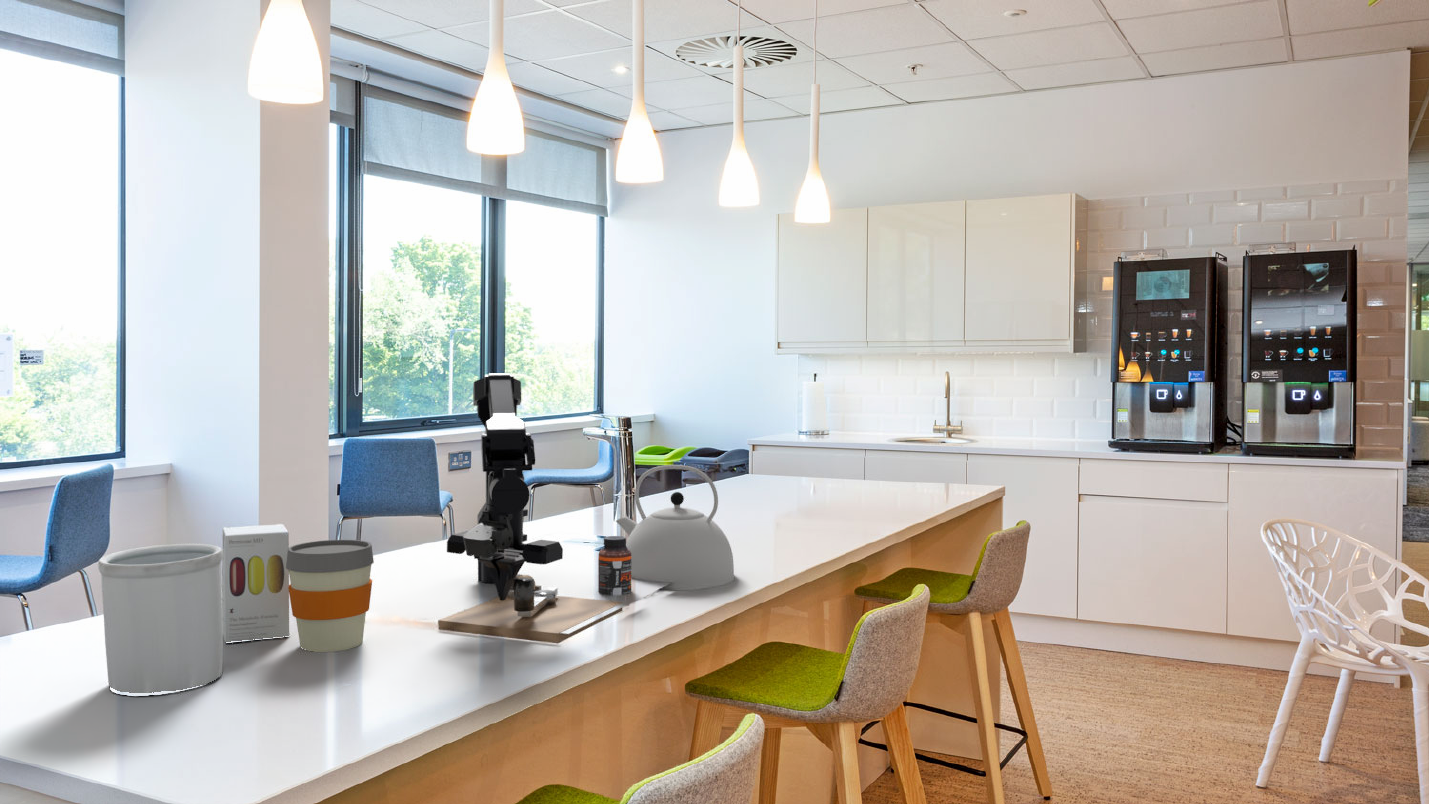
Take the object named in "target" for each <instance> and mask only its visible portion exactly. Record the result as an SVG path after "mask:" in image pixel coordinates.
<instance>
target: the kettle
mask: <svg viewBox="0 0 1429 804" xmlns="http://www.w3.org/2000/svg"><path fill="white" fill-rule="evenodd" d="M664 470H684V471H690V472H692V473H695V474H698V475H699V476H700V477H702V479H704V480H705V481H706V482H707V483H708V484H709V486H710V488H711V490H712V494H713V508H712V511H710V514H709V515H708V516H707V515H705V514H704V513H703V512H701V511H699V510H695V509H692V508H689V507H681V505H682V504H683V503H684V501H685V500H684V499H685V497H684V495H683V493H681V492H680V491H675V492H673V493H672V494H671V496H670V502H671V504H672V505H673V507H667V508H663V509H660V510H656V511H654V512H652V513H650V514H649V515H648V516H647V517H646V514H645V512H644V510H643V508H642V505H641V502H640V487H641V484H642V482H643V480H644V479H645V478H646V477H648V475H650V474H652V473H654V472H658V471H664ZM634 500H635V505H636V509H637V510H638V512H639V515H640V517H641V518H642V520H641V521H640V522H639V523H638V522H636V521H635V520H633V519H631V518H629V517H628V516H626V515H625V516H622V517H620V518H618V519H617V520H615V523H617V524H618V525H619V527H621V528H622V530H623V531H624V532H625V533H626V534H627V535H628V536H627V538H626V547H627V548H628V549H629V550H630V551H631V579H637V580H640V581H650V582H660V583H661V582H662V583H663V582H664V583H665V582H666V583H668V584H666V585H664V586H662V587H660V588H658V590H661V591H662V590H663V591H686V590H699V589H700V590H701V589H702V590H703V589H708V588H716V587H721V586H723V584H724V585H727V584H729V583H731V582H733V581H734V579H735V573H734V571H735V567H734V566H735V565H734V557H733V556H734V555H733V552H732V547H731V544H730V541H729V540H728V538H727V535H726V534H725V533H724V531H723V529H722V528H721V527H720V526H719V525H718V524H717V523H716V522H715V521H714V520H713V518H714V517H715V515H716V513H717V510H718V508H719V507H718V506H719V495H718V490H717V488H716V486H715V483H714V482H713V480H712V479H711V478H710V477H709V476H708V475H707V474H706V473H705V472H703V471H702V470H701V469H699V468H695V467H693V466H689V465H683V464H682V465H681V464H666V465H658V466H656V467H652V468H649V469H648V470H646V471H645V472H644V473H642V474H641V476H640V477H639V478H638V481H636V484H635V489H634Z"/></svg>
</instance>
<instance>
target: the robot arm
mask: <svg viewBox="0 0 1429 804" xmlns="http://www.w3.org/2000/svg"><path fill="white" fill-rule="evenodd" d="M472 389H473V390H472V399H473V400H472V402H473V405H472V406H474V407H475V406H476V413H477V417H478V418H479V420H480V421H481V423H482V425H483V427H484V428H485V430H484V431H485V432H484V433H480V435H481V437H480V438H481V439H480V440H481V443H480V444H481V445H480V447H481V448H480V449H481V451H480V452H481V465H482V466H481V467H482V472H483V473H485V503H484V504H483V505H482V507H481V509H480V510H479V512H478V514H477V519H476V520H477V522H476V525H474V526H473V527H471V528H470V529H469V530H465V531H461V532H457V533H454V534H450V536H449V537H448V539H447V541H446V553H451V554H457V555H458V554H459V555H461V554H464V553H466V556H469V557H473V558H474V559H475V560H476V559H477V582H481V583H483V584H486V585H487V584H488V585H495V588H496V591H497V594H498V597H499V598H500V600H501V601H503V600H505V599H506V597H507V595H508V592H509V590H510V588H511V586H512V584H513V582H514V579H515V578H516V576H517V574H519V572H520V571H521V569H522V567H523V565H524V564H525V562H526V563H528V564H535V565H547V564H551V563H554V562H557V561H560V560H563V557H564V556H563V555H564V554H563V553H564V552H563V551H564V549H563V546H562V545H561V543H560V541H556V540H555V541H554V540H546V539H538V540H535V541H532V542H528V543H524V542H527V541H528V534H525V533H524V517H528V516H529V515H528V513H529V510H528V509H527V508H526V506H527V505H528V503H529V500H530V489H529V487H528V485H527V483H526V481H525V475H524V472H523V471H527V472H528V471H533V466H535V465H536V453H535V443H534V439H533V438H532V434H530V432H527V430H526V425H525V424H526V423H525V421H524V420H522V419H520V418H519V417H517V415H518V412H517V411H518V409H517V408H518V406H521V403H522V381H521V380H519V379H517V378H515V377H514V374H510V373H509V372H508V373H507V372H506V373H505V372H504V373H488V374H484V377H483V378H480V379H477V380H474V382H473V387H472ZM525 508H526V509H525Z"/></svg>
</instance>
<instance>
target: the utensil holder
mask: <svg viewBox="0 0 1429 804" xmlns="http://www.w3.org/2000/svg"><path fill="white" fill-rule="evenodd" d="M222 556H223V548H222V547H220V546H218V545H214V544H207V543H174V544H160V545H150V546H149V545H148V546H143V547H137V548H131V549H130V548H129V549H125V550H120V551H116V552H113V553H110V554H106V555H103V556H102V557H101V558H99V559H98V564H97V565H98V566H97V567H98V570H99V572H100V574H101V575H100V576H101V595H102V608H103V609H102V610H103V611H102V612H103V623H104V624H103V625H104V644H105V655H106V656H105V658H106V668H107V669H106V670H107V680H108V681H107V682H108V687H109V686H110V687H111V688H113V689H115V690H117V691H120V692H129V693H152V692H153V693H154V692H161V691H176V690H183V689H187V688H192V687H196V686H200V685H204V686H206V685H205V684H207V683H209V682H211V683H213V682H215V681H217V680H218V679H219V678H220V677H221V676H222V674H223V666H224V663H223V651H224V647H223V646H224V645H223V644H224V642H223V641H224V636H223V622H222V565H221V564H222V563H221V561H222ZM218 677H219V678H218ZM217 678H218V679H217ZM216 679H217V680H216ZM214 680H215V681H214ZM212 681H213V682H212ZM209 684H210V683H209ZM207 685H208V684H207Z"/></svg>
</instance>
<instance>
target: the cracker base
mask: <svg viewBox="0 0 1429 804" xmlns="http://www.w3.org/2000/svg"><path fill="white" fill-rule="evenodd" d="M522 575H523V574H521V573H518V574H517V576H516V578H515V579H517V578H518V577H520V576H522ZM540 590H542V585H540V584H539V585H538V584H535V589H534V592H535V591H540ZM622 603H623V601H615V600H614V601H613V600H603V599H594V598H593V599H592V598H584V597H583V598H582V597H573V596H561V595H556V602H555V603H553V604H547V605H545V606H544V607H542V608H541V609H540V610H539V611H537V612H536V613H535V614H534V615H533V616H531V617H519V616H518V611H515V610H514V582H513V584H512V586H511V588H510V590H509V592H508V595H507V597H506V599H505V600H503V601H501V600H500V598H499V596H498V597H495V598H493V599H489V600H487V601H485V602H482V603H479V604H476V605H475V606H471V607H469V608H467V609H464V610H462V611H459V612H456V613H454V614H451V615H448V616H445V617H443V618H440V619H439V620H437V622H438V625H437V627H438V628H437V629H438V630H441V631H448V632H449V631H450V632H458V633H467V634H474V635H483V636H484V635H485V636H493V637H501V638H502V637H503V638H509V639H510V638H511V639H518V640H528V641H534V642H535V641H536V642H537V641H538V642H543V643H545V642H546V643H552V644H554V643H555V644H559V643H561V642H564V641H566V640H568V639H570V638H572V637H573V636H575V635H577V634H579V633H581V632H583V631H585V630H587V629H589V628H591V627H593V626H595V625H597V624H599V623H601V622H603V621H605V620H607V619H609V618H611V617H614V616H615V615H616V614H619V613H621V612H623V607H620V608H618V609H616V610H614V611H612V612H610V613H608V614H606V615H603V616H602V617H599V618H598V619H596V620H594V621H591V622H590V623H587V624H586V625H583V626H582V627H579V628H578V629H576V630H573V631H572V632H569V633H564V632H565V631H566V630H569V629H571V628H574V627H575V626H577V625H579V624H581V623H583V622H585V621H588V620H589V619H591V618H593V617H596V616H597V615H599V614H602V613H603V612H606V611H608V610H611V609H612V608H614V607H615V606H618V605H620V604H622ZM562 632H563V633H562Z"/></svg>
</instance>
